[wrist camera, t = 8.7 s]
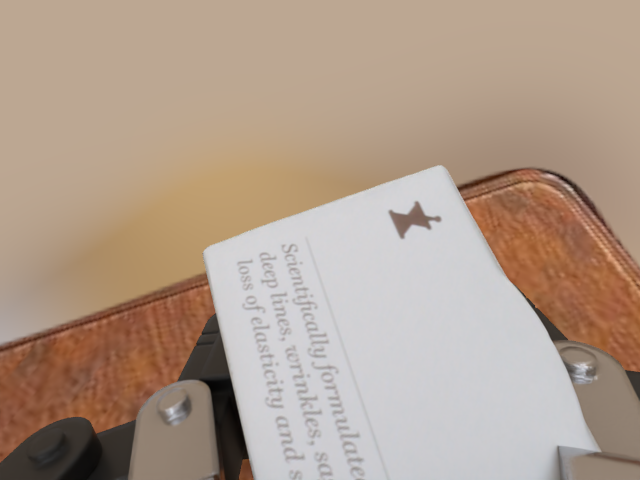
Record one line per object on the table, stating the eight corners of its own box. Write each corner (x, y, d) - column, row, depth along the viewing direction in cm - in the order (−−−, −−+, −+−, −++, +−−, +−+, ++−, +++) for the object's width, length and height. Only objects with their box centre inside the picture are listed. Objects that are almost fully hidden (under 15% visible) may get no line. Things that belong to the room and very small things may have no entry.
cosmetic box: (295, 341, 17) (168, 233, 6) (388, 308, 17) (441, 140, 6) (341, 496, 14) (275, 834, 3) (449, 455, 15) (739, 649, 3)
